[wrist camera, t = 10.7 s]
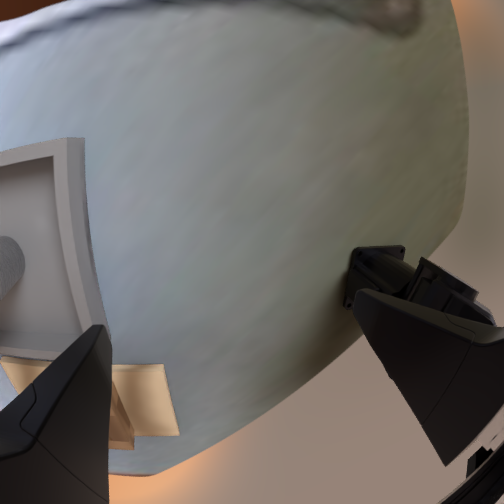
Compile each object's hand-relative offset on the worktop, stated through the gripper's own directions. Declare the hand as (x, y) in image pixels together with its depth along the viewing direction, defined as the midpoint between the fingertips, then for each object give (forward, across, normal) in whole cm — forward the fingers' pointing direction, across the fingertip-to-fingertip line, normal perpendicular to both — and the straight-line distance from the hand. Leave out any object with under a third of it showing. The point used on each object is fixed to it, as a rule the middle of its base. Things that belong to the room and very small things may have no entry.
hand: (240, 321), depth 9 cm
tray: (+14, +17, +1) cm, 22 cm away
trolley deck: (+13, +15, +20) cm, 28 cm away
